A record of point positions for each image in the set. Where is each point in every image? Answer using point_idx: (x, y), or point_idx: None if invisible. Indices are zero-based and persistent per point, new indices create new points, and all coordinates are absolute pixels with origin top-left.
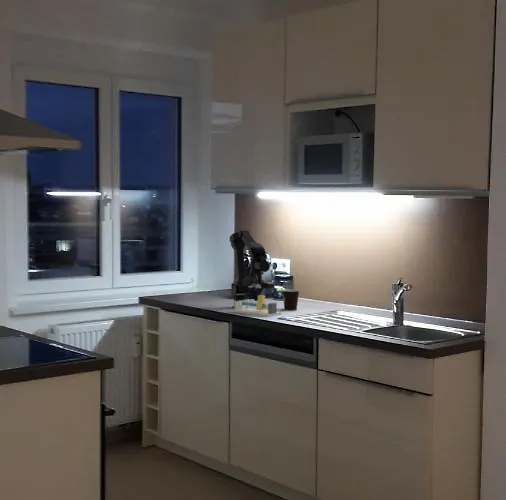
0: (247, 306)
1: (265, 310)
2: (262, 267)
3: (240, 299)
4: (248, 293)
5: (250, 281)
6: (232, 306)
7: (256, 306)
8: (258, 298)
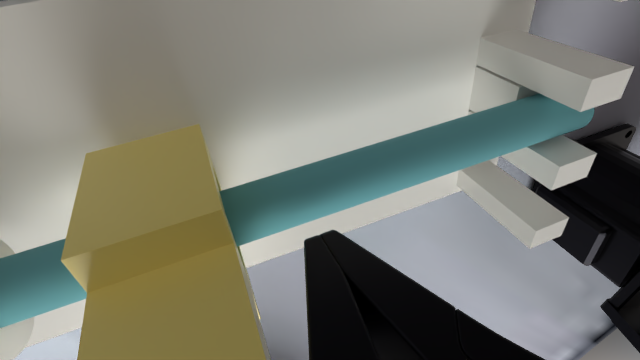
0: (484, 175)
1: None
2: None
3: (636, 207)
4: (632, 320)
5: None
6: (632, 126)
7: (204, 153)
8: (224, 314)
